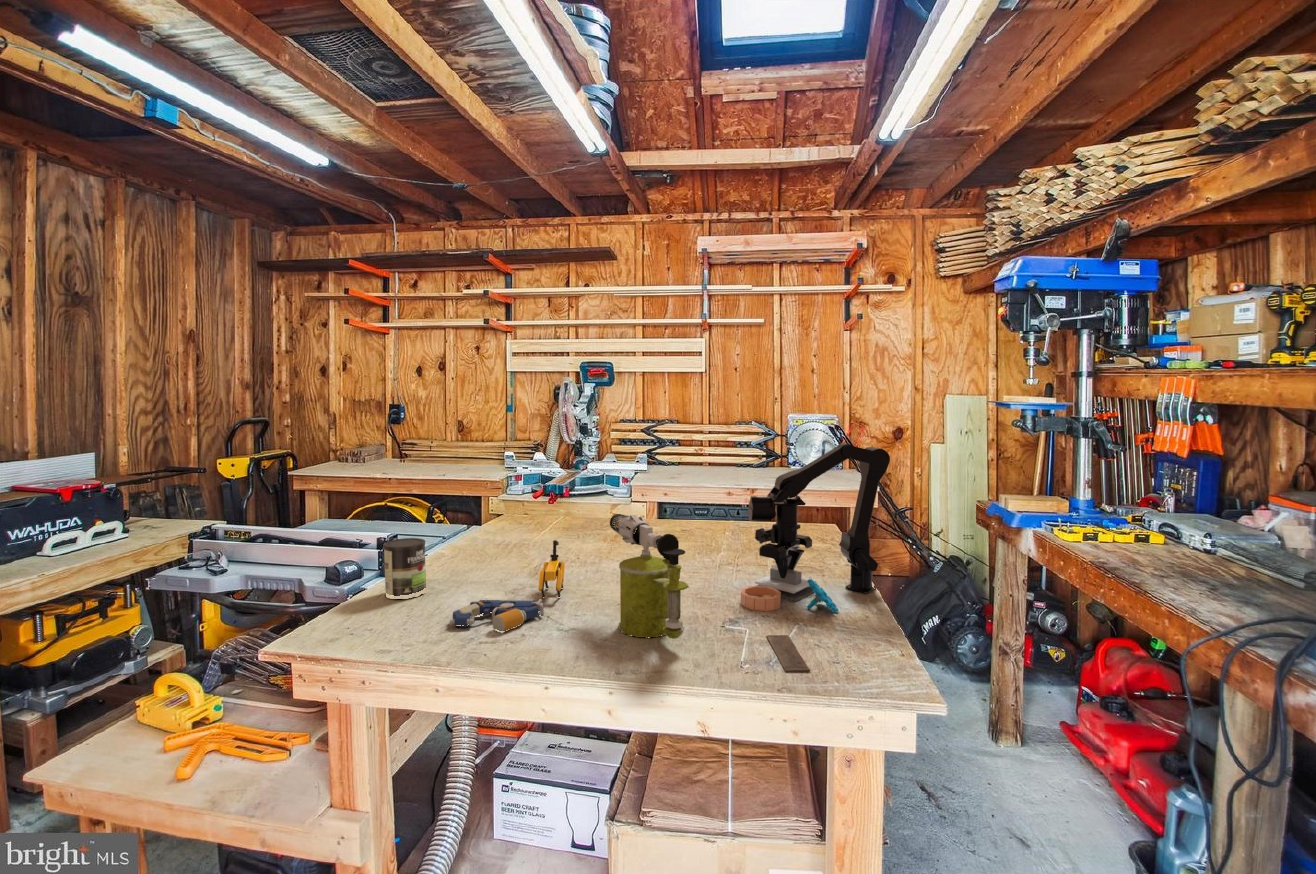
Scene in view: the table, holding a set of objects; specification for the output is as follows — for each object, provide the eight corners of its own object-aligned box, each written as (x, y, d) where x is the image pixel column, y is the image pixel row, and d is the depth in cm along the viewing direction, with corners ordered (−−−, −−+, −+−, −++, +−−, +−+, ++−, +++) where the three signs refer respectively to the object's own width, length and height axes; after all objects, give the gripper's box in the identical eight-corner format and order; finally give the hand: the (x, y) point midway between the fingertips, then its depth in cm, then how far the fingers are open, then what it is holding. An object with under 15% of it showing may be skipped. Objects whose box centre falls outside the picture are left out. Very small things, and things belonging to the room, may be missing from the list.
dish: (755, 594, 157) (755, 583, 156) (787, 603, 150) (788, 591, 150) (733, 603, 149) (733, 592, 149) (766, 613, 142) (766, 601, 142)
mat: (776, 578, 170) (776, 577, 170) (820, 589, 161) (820, 587, 161) (749, 589, 160) (749, 588, 160) (795, 602, 151) (795, 600, 151)
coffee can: (434, 589, 160) (433, 539, 159) (407, 602, 150) (406, 548, 149) (404, 585, 163) (403, 536, 162) (376, 597, 153) (374, 545, 152)
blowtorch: (653, 661, 117) (653, 539, 115) (594, 608, 146) (593, 510, 144) (708, 648, 123) (709, 532, 121) (640, 600, 152) (640, 505, 150)
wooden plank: (766, 634, 129) (788, 632, 129) (766, 639, 129) (788, 637, 129) (785, 670, 112) (811, 668, 112) (786, 677, 112) (811, 675, 113)
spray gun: (533, 636, 130) (548, 612, 145) (532, 617, 129) (548, 595, 144) (441, 636, 131) (466, 612, 146) (441, 617, 130) (466, 595, 145)
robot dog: (567, 581, 167) (567, 535, 166) (560, 603, 149) (560, 552, 148) (547, 581, 167) (546, 536, 166) (538, 604, 149) (537, 553, 148)
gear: (840, 613, 139) (810, 580, 141) (821, 628, 140) (792, 596, 142) (840, 603, 149) (812, 573, 152) (822, 618, 150) (795, 588, 153)
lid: (778, 573, 169) (778, 561, 169) (815, 582, 161) (816, 569, 160) (755, 583, 160) (755, 570, 160) (793, 593, 152) (794, 580, 152)
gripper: (778, 512, 171) (778, 563, 172) (742, 522, 158) (742, 578, 159) (813, 517, 164) (812, 571, 165) (778, 528, 150) (777, 587, 151)
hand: (785, 576), depth 160 cm, fingers closed on lid, 3 cm apart
